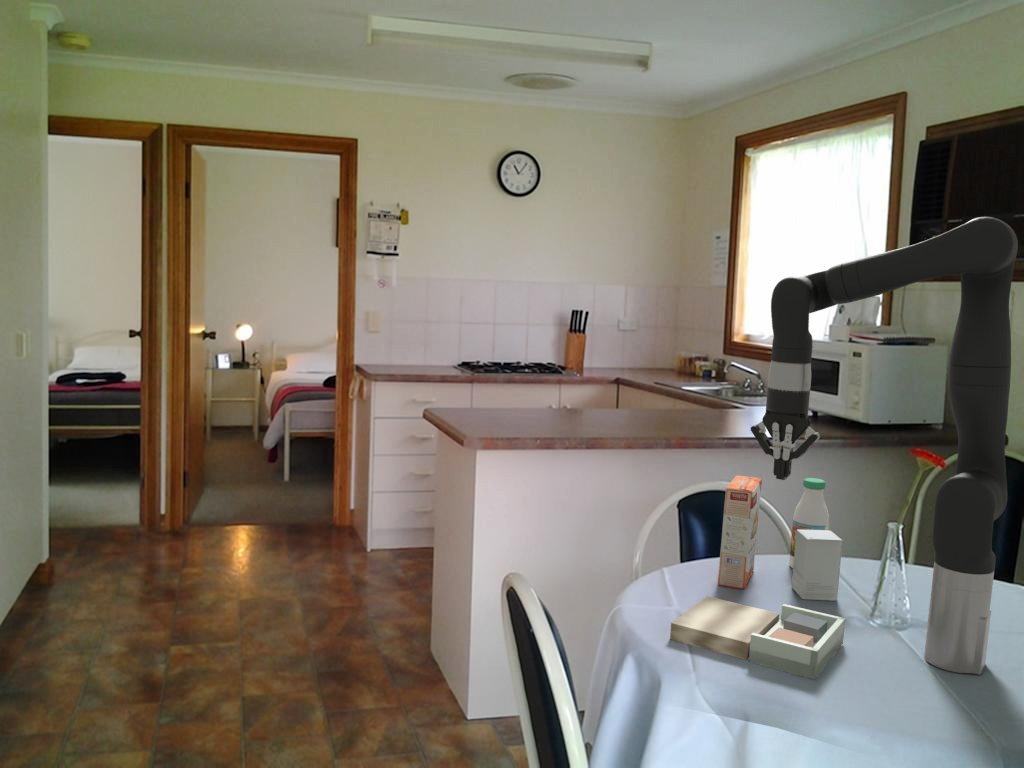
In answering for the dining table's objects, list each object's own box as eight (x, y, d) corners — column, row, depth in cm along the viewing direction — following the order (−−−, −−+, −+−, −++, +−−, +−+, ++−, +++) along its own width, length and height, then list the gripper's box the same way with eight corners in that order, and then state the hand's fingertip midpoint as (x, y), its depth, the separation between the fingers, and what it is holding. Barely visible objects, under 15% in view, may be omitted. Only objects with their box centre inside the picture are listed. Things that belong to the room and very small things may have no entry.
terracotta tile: (812, 650, 161) (813, 636, 161) (802, 660, 157) (803, 645, 157) (777, 641, 165) (778, 627, 164) (767, 650, 160) (768, 636, 160)
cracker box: (746, 591, 196) (754, 491, 193) (716, 586, 198) (723, 487, 195) (755, 571, 208) (763, 477, 206) (727, 566, 211) (734, 473, 208)
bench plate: (778, 629, 176) (779, 613, 175) (746, 659, 162) (748, 642, 161) (706, 611, 183) (707, 596, 183) (670, 639, 169) (671, 622, 169)
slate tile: (826, 634, 168) (827, 621, 168) (816, 643, 164) (817, 629, 164) (793, 625, 172) (794, 612, 172) (782, 633, 168) (783, 620, 168)
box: (842, 644, 170) (845, 618, 169) (814, 679, 155) (817, 651, 154) (781, 628, 176) (783, 603, 175) (748, 661, 161) (750, 634, 160)
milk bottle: (797, 560, 217) (804, 474, 215) (830, 568, 213) (838, 480, 210) (783, 567, 211) (790, 479, 209) (817, 576, 207) (825, 485, 204)
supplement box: (838, 601, 192) (843, 540, 190) (801, 599, 192) (806, 538, 190) (826, 588, 199) (831, 529, 197) (790, 587, 199) (795, 528, 197)
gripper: (831, 388, 175) (823, 481, 177) (760, 380, 182) (753, 469, 184) (819, 392, 168) (811, 488, 171) (747, 384, 176) (740, 476, 178)
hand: (781, 478), depth 177 cm, fingers closed
